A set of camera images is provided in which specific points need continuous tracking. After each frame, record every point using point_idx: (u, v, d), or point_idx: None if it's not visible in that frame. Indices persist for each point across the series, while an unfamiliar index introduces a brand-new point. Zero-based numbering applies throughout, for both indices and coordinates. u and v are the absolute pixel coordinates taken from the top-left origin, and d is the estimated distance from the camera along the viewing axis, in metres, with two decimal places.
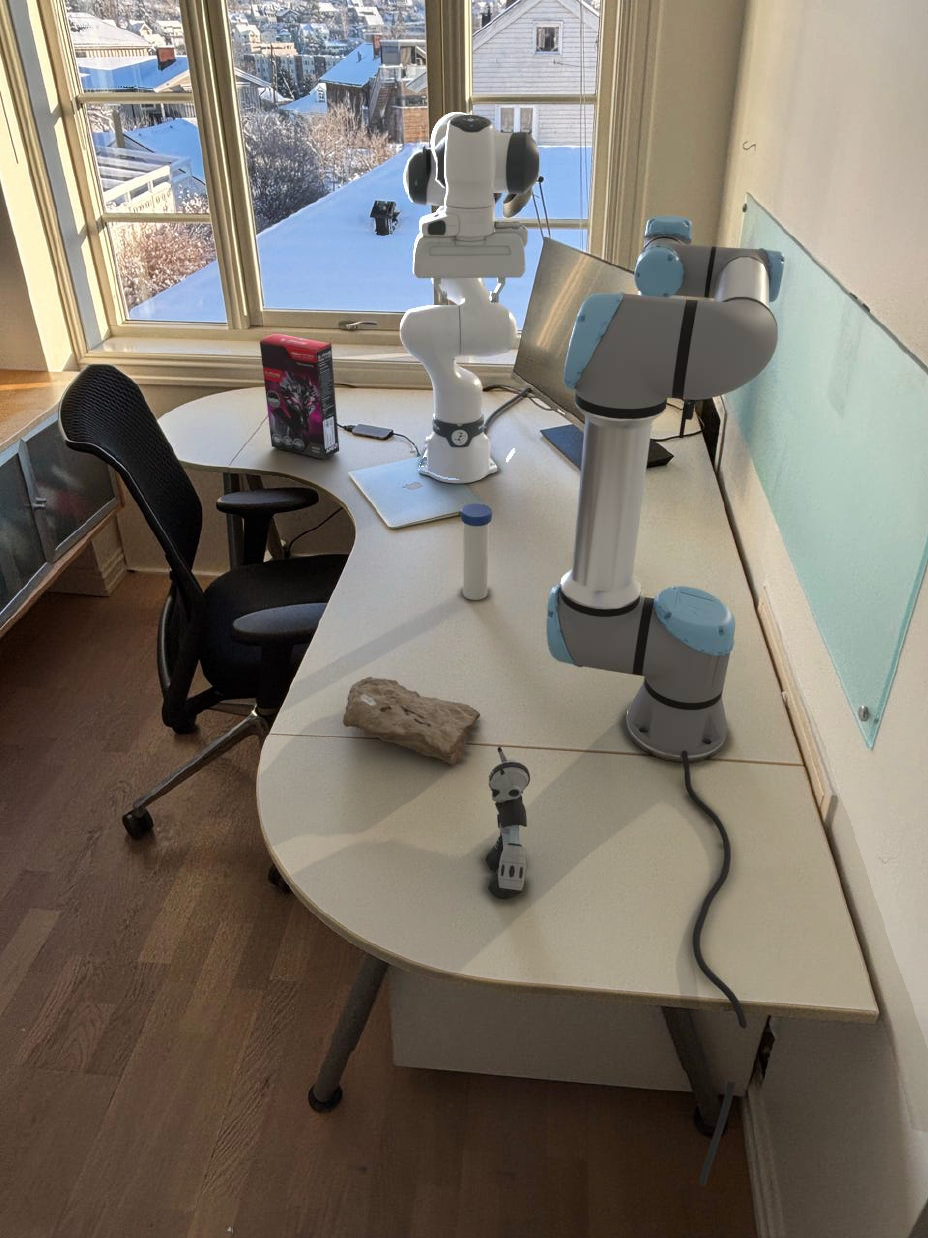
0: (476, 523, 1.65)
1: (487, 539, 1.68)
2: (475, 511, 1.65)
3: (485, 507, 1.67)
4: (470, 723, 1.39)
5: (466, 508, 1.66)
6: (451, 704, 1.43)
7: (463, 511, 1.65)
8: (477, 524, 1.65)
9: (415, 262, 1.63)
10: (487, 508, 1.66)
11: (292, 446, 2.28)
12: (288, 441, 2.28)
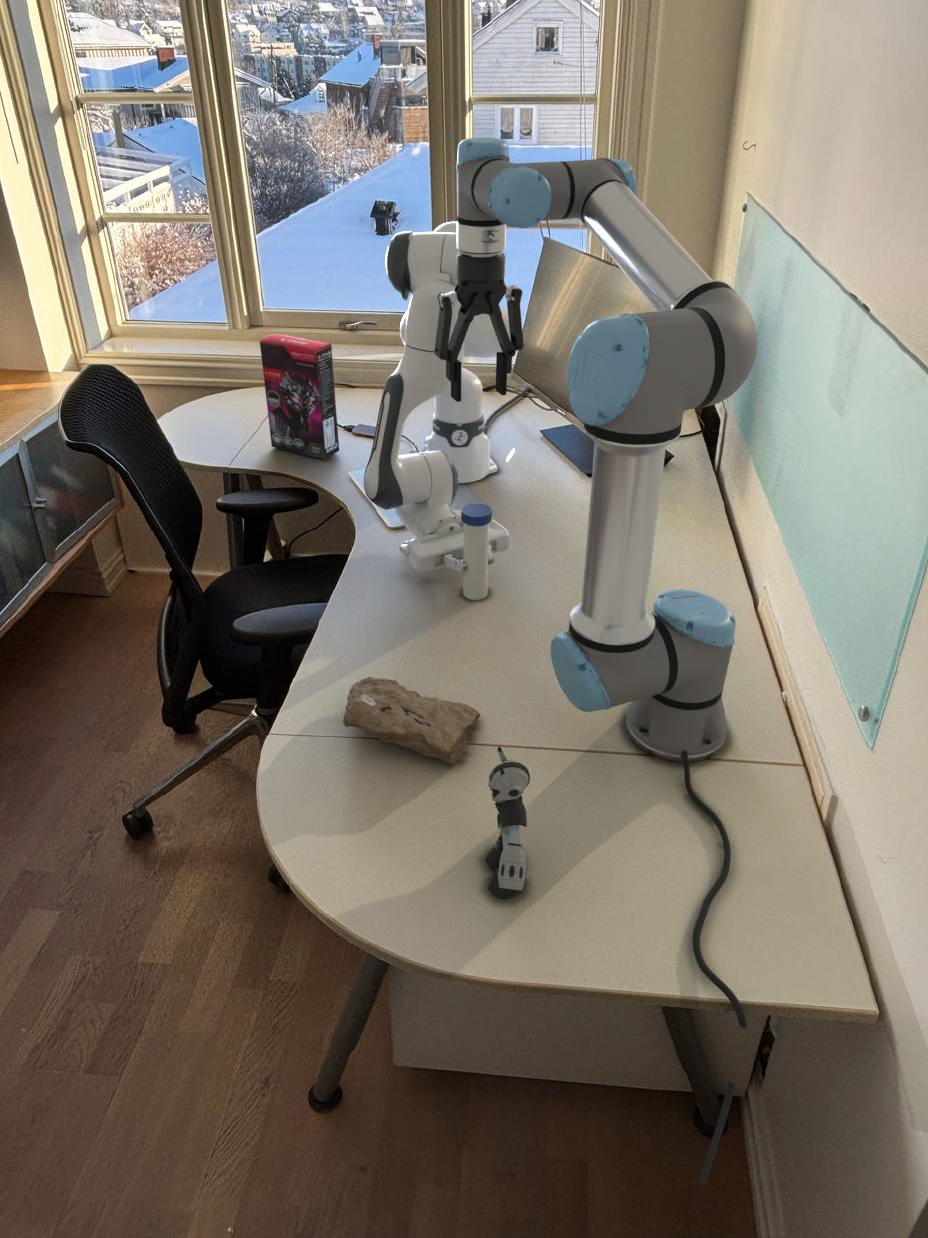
0: (476, 523, 1.65)
1: (487, 539, 1.68)
2: (475, 511, 1.65)
3: (485, 507, 1.67)
4: (470, 723, 1.39)
5: (466, 508, 1.66)
6: (451, 704, 1.43)
7: (463, 511, 1.65)
8: (477, 524, 1.65)
9: None
10: (487, 508, 1.66)
11: (292, 446, 2.28)
12: (288, 441, 2.28)
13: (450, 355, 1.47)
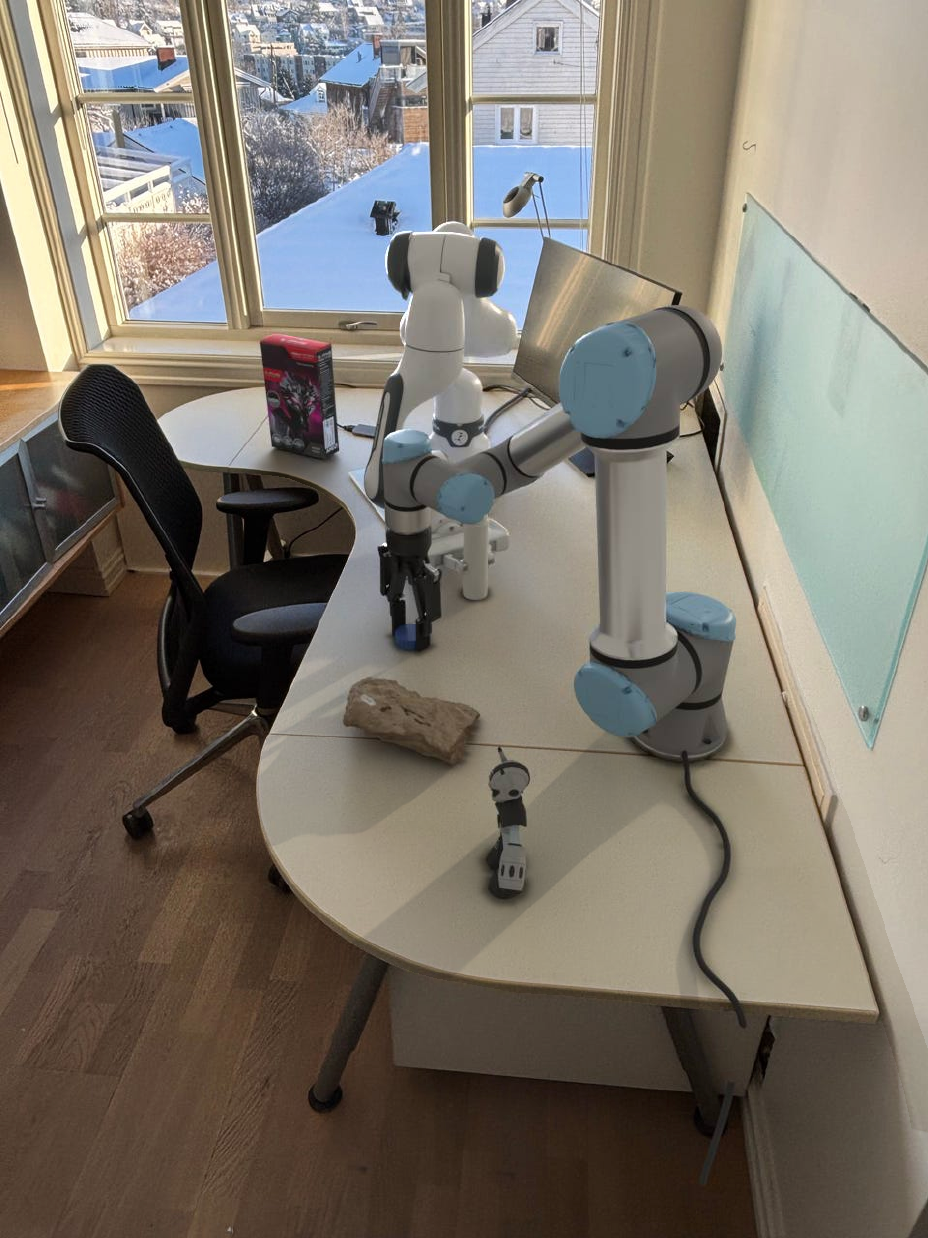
0: None
1: (487, 539, 1.68)
2: (413, 632, 1.61)
3: (405, 626, 1.63)
4: (470, 723, 1.39)
5: (405, 637, 1.60)
6: (451, 704, 1.43)
7: (412, 640, 1.60)
8: None
9: None
10: (408, 625, 1.63)
11: (292, 446, 2.28)
12: (288, 441, 2.28)
13: None
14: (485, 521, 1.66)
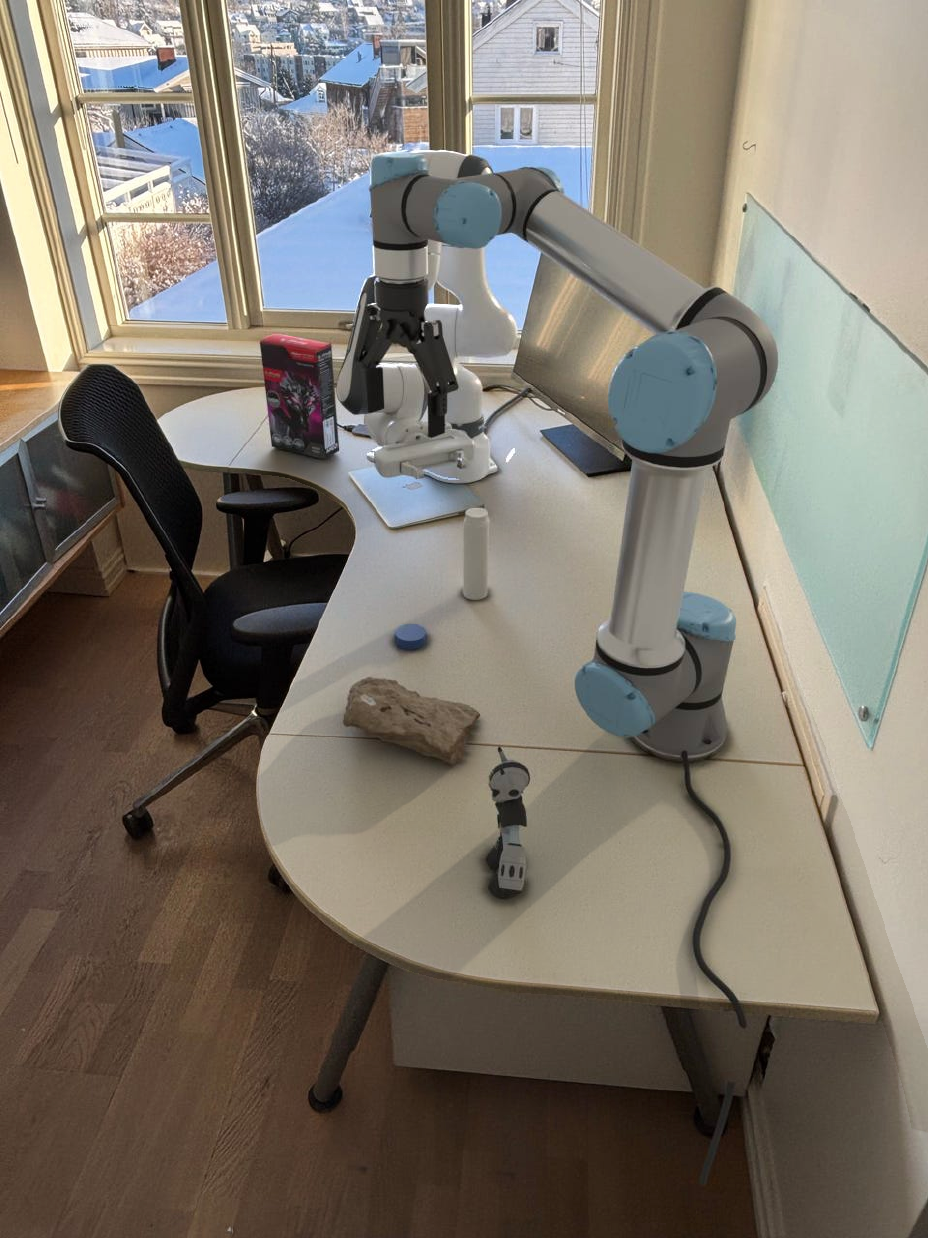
0: (425, 639, 1.62)
1: (487, 539, 1.68)
2: (413, 632, 1.61)
3: (405, 626, 1.63)
4: (470, 723, 1.39)
5: (405, 637, 1.60)
6: (451, 704, 1.43)
7: (412, 640, 1.60)
8: (426, 639, 1.62)
9: None
10: (408, 625, 1.63)
11: (292, 446, 2.28)
12: (288, 441, 2.28)
13: None
14: (485, 521, 1.66)
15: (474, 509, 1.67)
